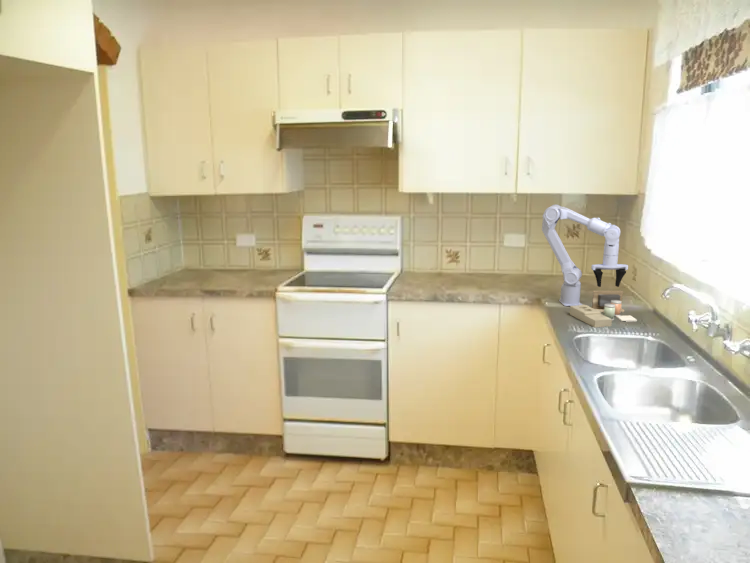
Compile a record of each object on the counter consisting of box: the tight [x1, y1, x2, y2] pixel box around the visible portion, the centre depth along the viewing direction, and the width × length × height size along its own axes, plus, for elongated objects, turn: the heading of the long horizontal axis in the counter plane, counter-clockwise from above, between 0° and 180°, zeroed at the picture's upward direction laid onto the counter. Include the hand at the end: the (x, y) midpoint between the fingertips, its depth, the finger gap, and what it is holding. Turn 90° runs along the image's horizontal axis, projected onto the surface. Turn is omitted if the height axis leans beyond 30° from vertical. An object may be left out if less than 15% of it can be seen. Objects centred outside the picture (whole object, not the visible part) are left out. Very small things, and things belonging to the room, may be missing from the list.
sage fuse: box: [603, 303, 615, 322], centre depth 230 cm, size 4×4×6 cm
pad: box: [615, 315, 638, 323], centre depth 230 cm, size 6×6×1 cm
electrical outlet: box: [569, 304, 613, 328], centre depth 229 cm, size 7×4×18 cm
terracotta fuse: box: [611, 300, 623, 318], centre depth 235 cm, size 4×4×6 cm
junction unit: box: [590, 290, 625, 313], centre depth 241 cm, size 5×12×8 cm, turn 89°
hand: (608, 286), depth 243 cm, fingers open, 7 cm apart
